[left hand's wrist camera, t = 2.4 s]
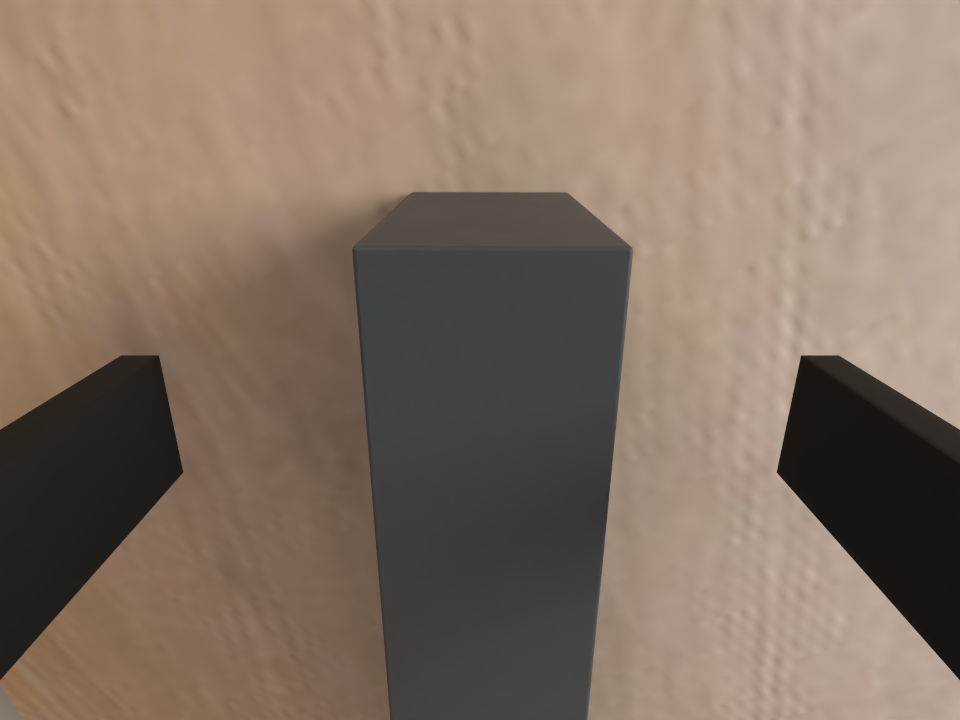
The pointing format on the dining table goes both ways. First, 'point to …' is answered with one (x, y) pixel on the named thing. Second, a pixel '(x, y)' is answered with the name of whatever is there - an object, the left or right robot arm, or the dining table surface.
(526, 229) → the bar
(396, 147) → the dining table surface
